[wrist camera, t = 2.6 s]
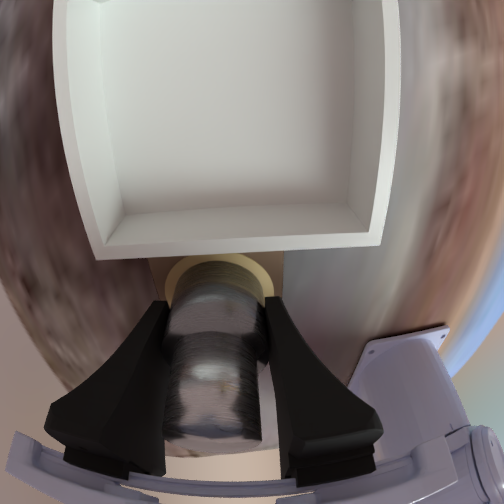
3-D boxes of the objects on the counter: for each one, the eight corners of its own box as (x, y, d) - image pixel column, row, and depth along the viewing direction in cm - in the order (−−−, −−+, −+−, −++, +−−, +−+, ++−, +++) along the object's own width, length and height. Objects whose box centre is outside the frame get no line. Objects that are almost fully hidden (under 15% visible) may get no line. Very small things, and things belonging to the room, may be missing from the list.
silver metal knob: (263, 324, 14) (275, 454, 9) (184, 327, 14) (167, 452, 9) (263, 258, 12) (280, 415, 6) (166, 262, 12) (125, 411, 6)
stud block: (277, 313, 16) (280, 334, 15) (176, 317, 16) (171, 337, 15) (279, 220, 13) (284, 239, 12) (152, 228, 13) (143, 246, 12)
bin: (352, 209, 13) (379, 245, 10) (122, 221, 13) (96, 260, 10) (357, -19, 7) (391, -41, 4) (94, 0, 6) (55, -15, 4)
